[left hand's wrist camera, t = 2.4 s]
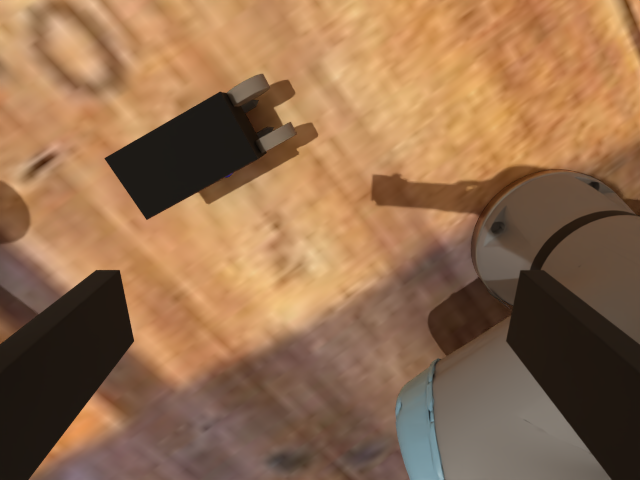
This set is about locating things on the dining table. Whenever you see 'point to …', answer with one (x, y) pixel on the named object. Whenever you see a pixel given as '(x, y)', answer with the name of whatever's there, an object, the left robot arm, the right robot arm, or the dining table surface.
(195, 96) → the dining table surface
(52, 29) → the dining table surface
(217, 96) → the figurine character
